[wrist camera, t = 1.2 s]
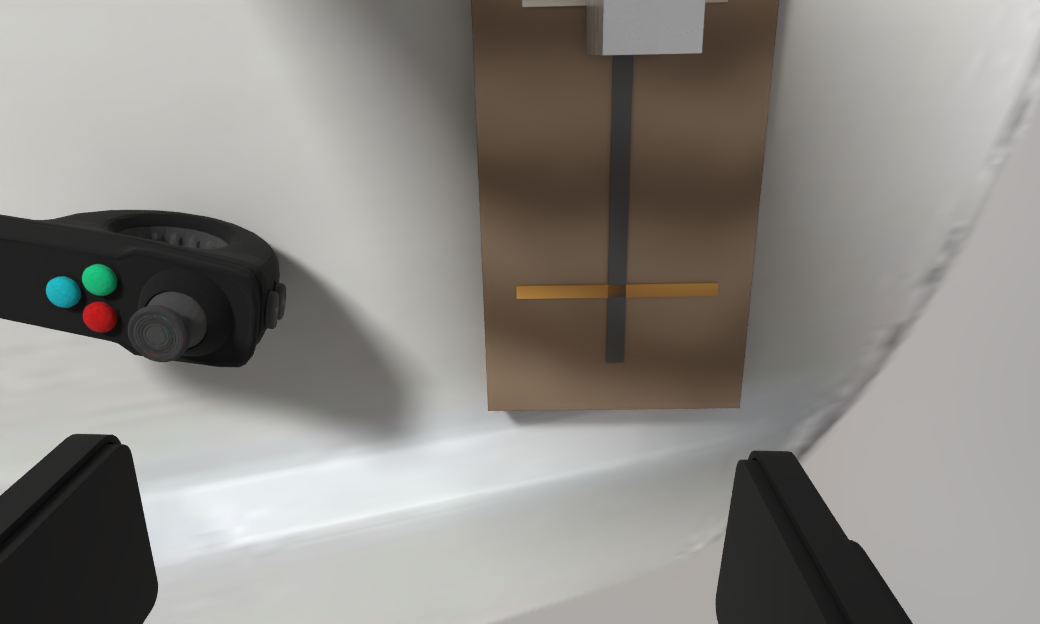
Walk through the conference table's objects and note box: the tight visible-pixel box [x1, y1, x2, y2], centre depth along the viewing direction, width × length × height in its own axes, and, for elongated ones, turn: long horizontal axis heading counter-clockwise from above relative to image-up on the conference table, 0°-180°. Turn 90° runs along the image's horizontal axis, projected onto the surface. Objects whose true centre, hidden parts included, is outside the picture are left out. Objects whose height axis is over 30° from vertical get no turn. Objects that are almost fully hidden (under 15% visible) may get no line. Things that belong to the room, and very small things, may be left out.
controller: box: [0, 210, 286, 367], centre depth 29 cm, size 4×12×10 cm, turn 79°
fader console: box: [471, 0, 779, 411], centre depth 31 cm, size 22×12×2 cm, turn 1°
